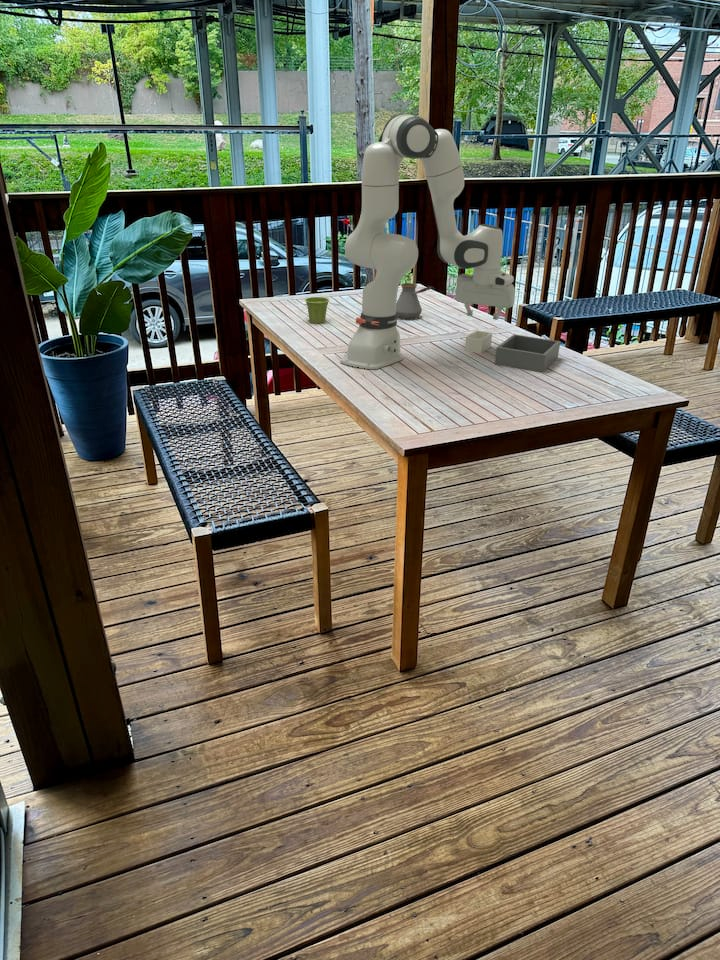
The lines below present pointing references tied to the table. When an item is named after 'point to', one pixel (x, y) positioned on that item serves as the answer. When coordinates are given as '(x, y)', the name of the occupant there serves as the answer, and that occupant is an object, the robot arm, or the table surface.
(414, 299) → the coffee pot
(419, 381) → the table surface
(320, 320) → the plant pot
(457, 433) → the table surface
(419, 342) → the table surface
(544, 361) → the big crate
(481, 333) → the small crate
